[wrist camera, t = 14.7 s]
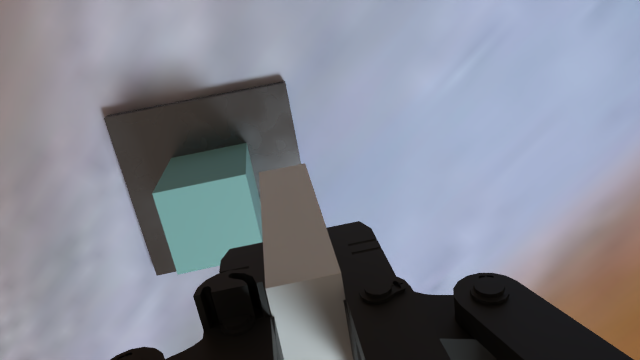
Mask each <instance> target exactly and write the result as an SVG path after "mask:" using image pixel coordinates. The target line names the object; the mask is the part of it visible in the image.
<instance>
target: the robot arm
mask: <svg viewBox="0 0 640 360" xmlns="http://www.w3.org/2000/svg"><path fill="white" fill-rule="evenodd" d="M259 183H260V200H261V218H262V236H263V242H261V243H256V244H251V245H246V246H241V247H236V248H232V249H229V250H228V252H227V253H226V254H225V256H224V257H223V258H222V259H221V262H220V271H219V272H220V273H219V274H216V275H215V276H213V277H211V278H209V279H207V280H206V281H204V282H203V283H202V284H201V285H200V286H199V287H198V288H197V290H196V292H195V294H194V296H193V297H194V300H195V303H196V307H197V310H198V313H199V317H200V320H201V323H202V326H203V330H204V334H203V339H202V340H201V341H199V342H198V343H197V344H195V345H194V346H192V347H190V348H188V349H187V350H185V351H183V352H180V353H178V354H176V355H174V356H171V357H169V358H167V359H165V358H164V356H163V353H162V352H160V351H159V350H157V349H156V348H149V347H141V348H136V349H130V350H128V351H126V352H123V353H121V354H119V355H116V356H115V357H114V358H112V359H111V360H633V359H632V358H631V357H629V356H628V355H626V354H625V353H623V352H622V351H620V350H619V349H617V348H616V347H614V346H613V345H611V344H610V343H608V342H607V341H605V340H604V339H602V338H601V337H599V336H598V335H596V334H595V333H593V332H592V331H590V330H589V329H587V328H586V327H584V326H583V325H581V324H580V323H579V322H577V321H576V320H574V319H573V318H571V317H570V316H568V315H567V314H565V313H564V312H562V311H561V310H559V309H558V308H556V307H555V306H553V305H552V304H550V303H549V302H547V301H546V300H544V299H543V298H541V297H540V296H538V295H537V294H535V293H534V292H532V291H531V290H529V289H528V288H527V287H525V286H524V285H522V284H521V283H519V282H518V281H516V280H514V279H511V278H509V277H507V276H504V275H500V274H495V273H477V274H473V275H469V276H466V277H465V278H463V279H461V280H460V281H458V282H457V284H456V285H455V287H454V288H453V290H454V295H428V294H422V293H417V292H414V291H413V290H412V288H411V286H410V285H409V284H408V283H407V282H406V281H405V280H403V279H401V278H399V277H396V275H395V273H394V271H393V269H392V267H391V266H390V264H389V262H388V260H387V258H386V256H385V254H384V252H383V250H382V249H381V246H380V244H379V243H378V241H377V239H376V237H375V235H374V233H373V231H372V229H371V228H370V227H368V226H366V225H364V224H363V223H361V222H359V221H358V222H353V223H348V224H343V225H338V226H334V227H329V228H326V225H325V222H324V219H323V216H322V213H321V210H320V207H319V204H318V201H317V198H316V195H315V192H314V189H313V186H312V183H311V180H310V177H309V174H308V171H307V168H306V165H305V164H300V165H294V166H289V167H284V168H279V169H274V170H268V171H263V172H259Z"/></svg>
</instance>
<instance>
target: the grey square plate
mask: <svg viewBox="0 0 640 360" xmlns="http://www.w3.org/2000/svg"><path fill="white" fill-rule="evenodd" d="M104 119H105V122H106V125H107V128H108V131H109V134H110V137H111V140H112V143H113V146H114V149H115V152H116V155H117V158H118V161H119V164H120V167H121V170H122V173H123V176H124V179H125V182H126V185H127V188H128V191H129V194H130V197H131V200H132V203H133V206H134V209H135V212H136V215H137V218H138V221H139V224H140V227H141V230H142V233H143V236H144V239H145V242H146V245H147V248H148V251H149V254H150V257H151V259H152V262H153V265H154V268H155V271H156V274H157V275H162V274H166V273H171V272H175V271H176V267H175V264H174V261H173V258H172V255H171V252H170V248H169V245H168V242H167V239H166V236H165V233H164V230H163V226H162V223H161V220H160V217H159V214H158V211H157V208H156V204H155V201H154V198H153V195H152V193H153V191H154V189H155V187H156V185H157V183H158V182H159V180H160V178H161V176H162V174H163V172H164V170H165V169H166V167H167V165H168V163H169V161H170V159H171V158H174V157H179V156H184V155H189V154H194V153H199V152H204V151H209V150H213V149H218V148H223V147H228V146H233V145H238V144H243V143H247V147H248V151H249V155H250V159H251V164H252V168H253V172H254V177H255V181H256V185H257V190H258V194H259V198H260V183H259V172H263V171H268V170H274V169H279V168H284V167H289V166H294V165H300V164H301V161H300V156H299V151H298V146H297V141H296V135H295V130H294V125H293V120H292V115H291V110H290V105H289V99H288V94H287V89H286V84H285V81H284V82H279V83H274V84H268V85H263V86H258V87H253V88H248V89H243V90H237V91H232V92H227V93H222V94H217V95H212V96H206V97H201V98H196V99H191V100H186V101H180V102H175V103H170V104H165V105H160V106H155V107H149V108H144V109H139V110H134V111H129V112H123V113H118V114H113V115H108V116H106V117H105V118H104ZM260 202H261V200H260Z"/></svg>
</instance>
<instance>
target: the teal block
mask: <svg viewBox="0 0 640 360" xmlns="http://www.w3.org/2000/svg"><path fill="white" fill-rule="evenodd" d="M152 195H153V198H154V201H155V204H156V208H157V211H158V214H159V217H160V220H161V223H162V226H163V230H164V233H165V236H166V239H167V242H168V245H169V248H170V252H171V255H172V258H173V261H174V264H175V267H176V271H177V274H183V273H187V272H192V271H196V270H201V269H206V268H210V267H215V266H219V265H220V262H221V259H222V258H223V257H224V256H225V254H226V253H227V252H228V250H229V249H232V248H236V247H241V246H246V245H251V244H256V243H261V242H263V236H262V218H261V202H260V198H259V194H258V190H257V185H256V181H255V177H254V172H253V168H252V164H251V159H250V155H249V151H248V147H247V143H243V144H238V145H233V146H228V147H223V148H218V149H213V150H209V151H204V152H199V153H194V154H189V155H184V156H179V157H174V158H171V159H170V161H169V163H168V165H167V167H166V169H165V170H164V172H163V174H162V176H161V178H160V180H159V182H158V183H157V185H156V187H155V189H154V191H153V193H152Z"/></svg>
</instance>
